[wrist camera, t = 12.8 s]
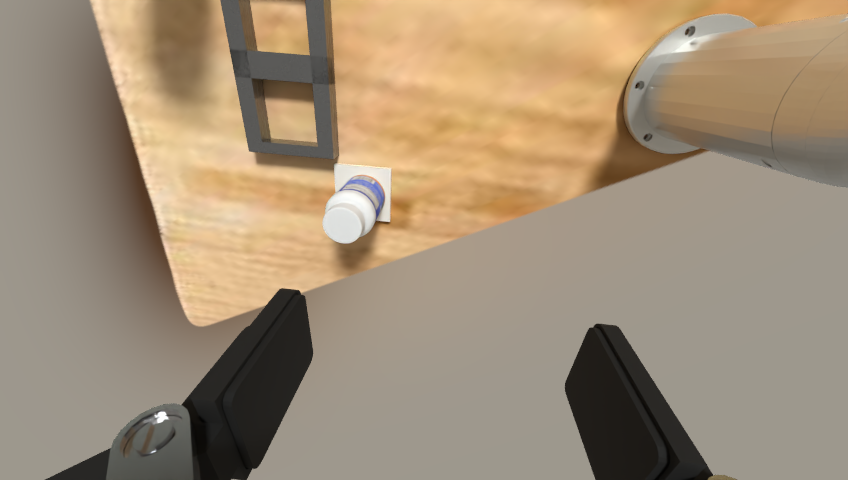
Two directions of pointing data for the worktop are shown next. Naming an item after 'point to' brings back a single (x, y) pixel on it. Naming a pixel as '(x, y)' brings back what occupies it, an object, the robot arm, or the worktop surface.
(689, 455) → the robot arm
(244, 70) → the grey double square frame
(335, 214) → the pill bottle
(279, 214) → the worktop surface
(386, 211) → the tile
